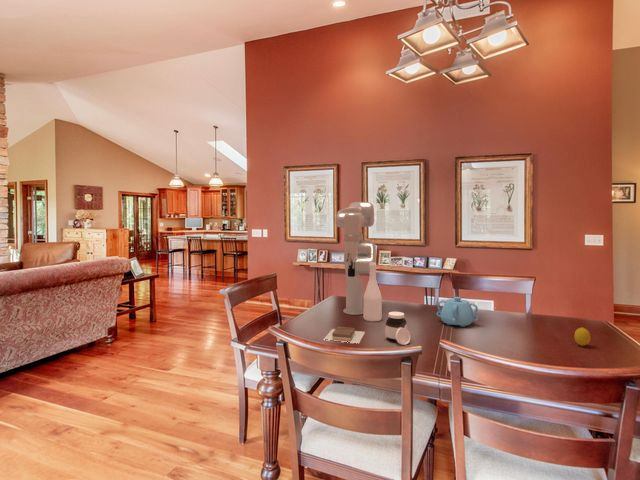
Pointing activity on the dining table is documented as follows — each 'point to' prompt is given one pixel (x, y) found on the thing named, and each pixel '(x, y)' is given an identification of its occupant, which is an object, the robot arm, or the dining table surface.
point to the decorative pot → (457, 312)
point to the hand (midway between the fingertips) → (351, 276)
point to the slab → (343, 334)
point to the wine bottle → (372, 298)
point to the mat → (355, 339)
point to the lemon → (582, 336)
